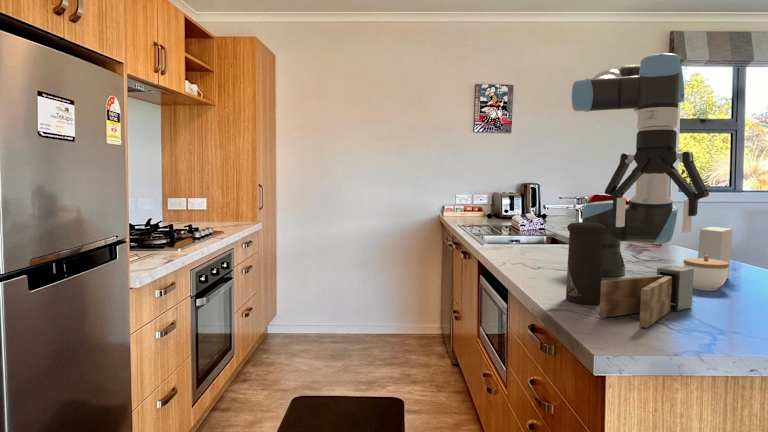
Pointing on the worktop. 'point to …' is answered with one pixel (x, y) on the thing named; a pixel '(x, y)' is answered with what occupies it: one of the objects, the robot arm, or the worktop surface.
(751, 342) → the worktop surface
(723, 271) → the lidded jar
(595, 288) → the container
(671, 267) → the grey angled block
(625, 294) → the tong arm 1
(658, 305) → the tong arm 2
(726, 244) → the skincare box
